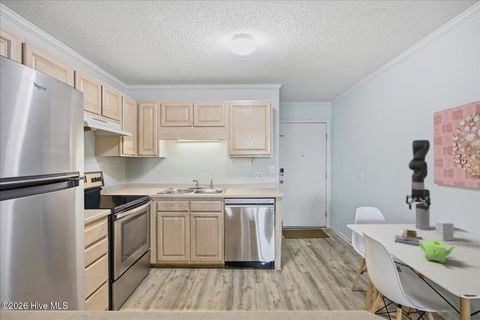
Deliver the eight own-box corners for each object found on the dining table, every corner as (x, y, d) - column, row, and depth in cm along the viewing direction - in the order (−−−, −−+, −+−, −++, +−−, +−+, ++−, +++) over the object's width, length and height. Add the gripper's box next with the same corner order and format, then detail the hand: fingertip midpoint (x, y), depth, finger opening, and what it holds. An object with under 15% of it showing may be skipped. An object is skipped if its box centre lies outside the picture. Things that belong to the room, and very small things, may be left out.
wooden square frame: (406, 235, 183) (406, 229, 183) (416, 236, 179) (416, 231, 179) (406, 237, 178) (406, 231, 178) (416, 239, 174) (416, 233, 174)
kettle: (434, 253, 149) (435, 236, 149) (458, 264, 135) (458, 244, 135) (413, 255, 147) (413, 237, 147) (435, 266, 133) (435, 246, 133)
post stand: (395, 236, 180) (395, 226, 179) (417, 240, 172) (417, 229, 172) (395, 242, 169) (395, 230, 169) (417, 246, 162) (417, 234, 161)
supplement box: (446, 237, 178) (446, 220, 177) (453, 240, 170) (453, 223, 170) (435, 236, 178) (435, 220, 178) (442, 240, 171) (442, 223, 171)
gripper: (429, 188, 170) (429, 210, 170) (405, 186, 178) (405, 208, 179) (431, 189, 164) (431, 212, 164) (405, 188, 172) (406, 210, 172)
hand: (417, 210), depth 171 cm, fingers open, 8 cm apart
